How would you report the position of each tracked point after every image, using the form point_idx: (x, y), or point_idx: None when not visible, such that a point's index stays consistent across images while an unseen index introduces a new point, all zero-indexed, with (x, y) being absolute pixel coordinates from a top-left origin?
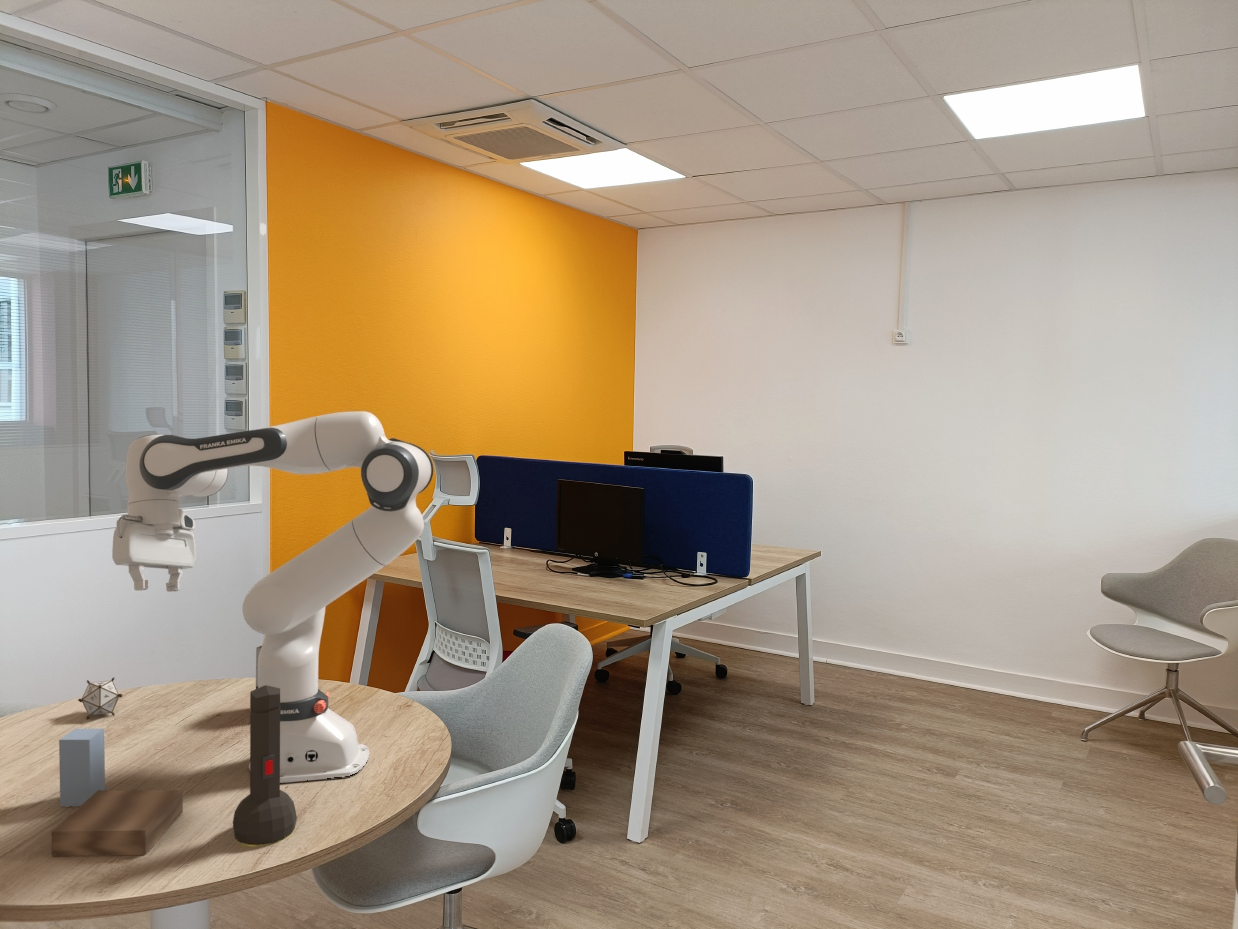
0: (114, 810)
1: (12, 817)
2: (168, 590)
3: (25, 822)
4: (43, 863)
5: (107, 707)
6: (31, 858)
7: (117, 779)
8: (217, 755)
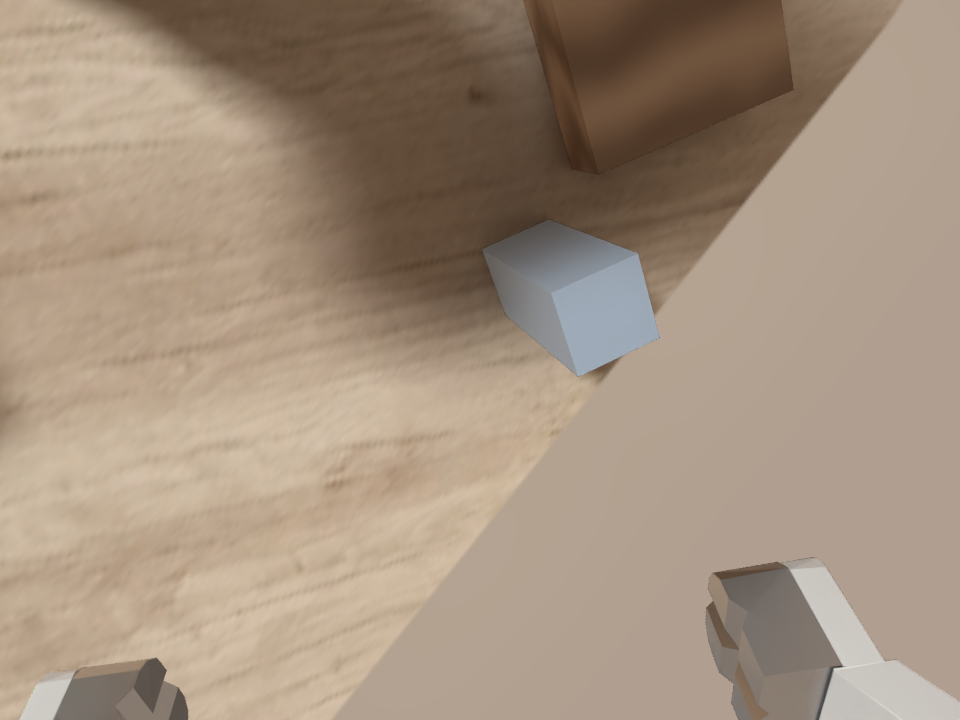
0: (681, 23)
1: None
2: (177, 710)
3: None
4: None
5: None
6: (764, 127)
7: (404, 292)
8: (125, 140)
